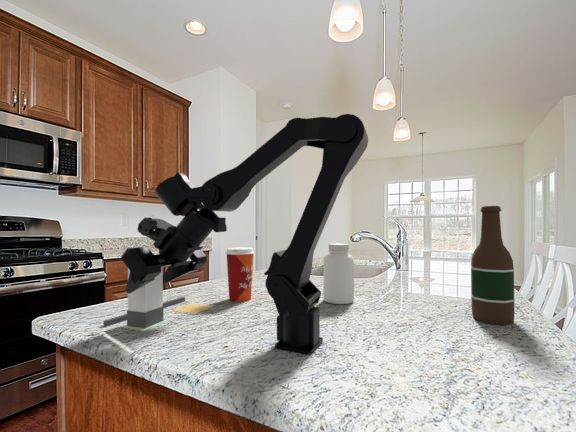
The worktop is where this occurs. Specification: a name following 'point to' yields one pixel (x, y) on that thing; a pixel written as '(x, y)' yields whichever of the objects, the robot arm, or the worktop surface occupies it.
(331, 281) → the pill bottle
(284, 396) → the worktop surface
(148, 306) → the plug
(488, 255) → the beer bottle
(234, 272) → the paper cup
